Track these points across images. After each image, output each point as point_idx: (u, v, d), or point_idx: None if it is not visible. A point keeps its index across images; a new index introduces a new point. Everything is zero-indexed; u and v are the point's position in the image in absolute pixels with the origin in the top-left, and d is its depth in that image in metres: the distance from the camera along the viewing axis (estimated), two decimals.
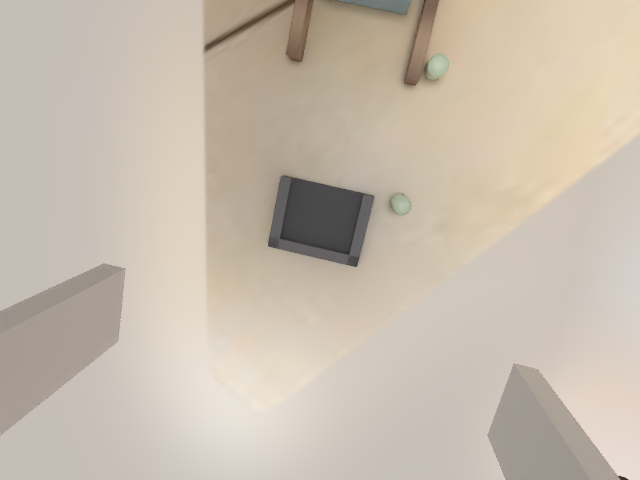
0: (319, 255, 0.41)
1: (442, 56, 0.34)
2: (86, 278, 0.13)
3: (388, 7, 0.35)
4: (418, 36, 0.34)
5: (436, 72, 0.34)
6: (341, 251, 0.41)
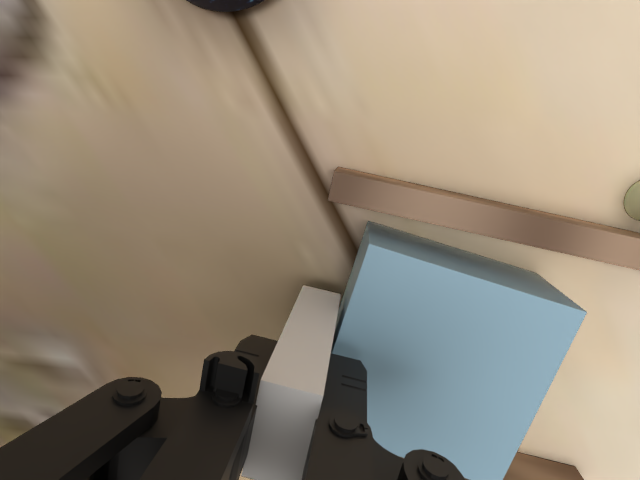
0: None
1: None
2: (306, 300, 0.14)
3: None
4: (613, 261, 0.14)
5: None
6: None
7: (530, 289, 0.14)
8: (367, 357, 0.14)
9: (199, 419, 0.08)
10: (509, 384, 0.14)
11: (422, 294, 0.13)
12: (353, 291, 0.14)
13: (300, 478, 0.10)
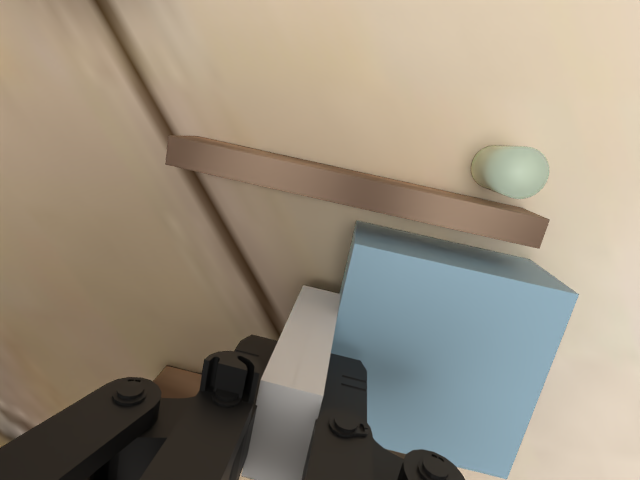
0: None
1: (501, 165, 0.13)
2: (306, 300, 0.14)
3: None
4: (439, 223, 0.14)
5: (540, 179, 0.13)
6: None
7: (520, 276, 0.14)
8: (363, 356, 0.14)
9: (199, 419, 0.08)
10: (507, 373, 0.14)
11: (412, 290, 0.13)
12: (343, 292, 0.14)
13: (300, 478, 0.10)
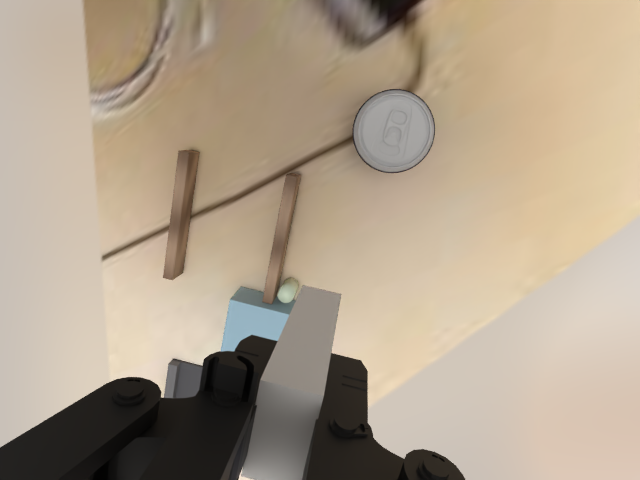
0: None
1: (287, 289, 0.41)
2: (306, 300, 0.14)
3: None
4: (269, 271, 0.41)
5: (283, 300, 0.41)
6: None
7: None
8: (260, 318, 0.41)
9: (199, 419, 0.08)
10: None
11: None
12: (282, 312, 0.41)
13: (300, 478, 0.10)
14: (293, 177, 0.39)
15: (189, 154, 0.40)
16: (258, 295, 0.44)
